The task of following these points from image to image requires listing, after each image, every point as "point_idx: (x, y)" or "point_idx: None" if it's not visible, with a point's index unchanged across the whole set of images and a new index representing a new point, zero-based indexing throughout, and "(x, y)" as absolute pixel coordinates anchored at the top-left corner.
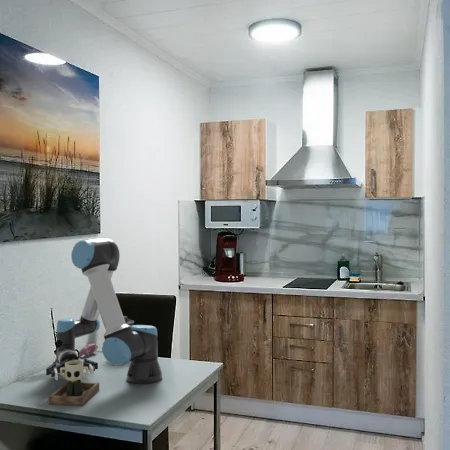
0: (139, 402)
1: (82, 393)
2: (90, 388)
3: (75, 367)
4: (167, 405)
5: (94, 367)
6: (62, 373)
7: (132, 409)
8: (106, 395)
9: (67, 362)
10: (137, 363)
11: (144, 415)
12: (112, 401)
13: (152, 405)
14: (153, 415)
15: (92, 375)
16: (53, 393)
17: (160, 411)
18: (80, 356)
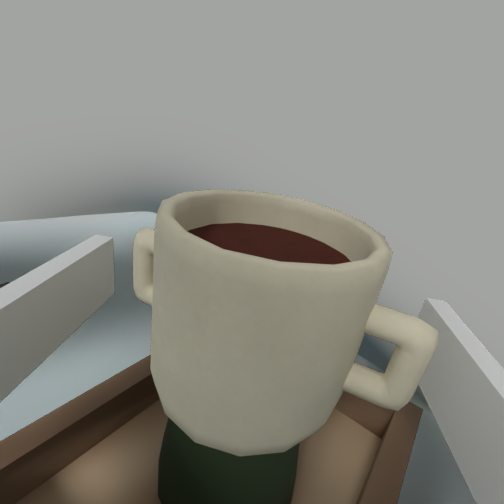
0: (43, 261)
1: (155, 479)
2: (123, 386)
3: (273, 214)
4: (19, 223)
5: (3, 285)
6: (384, 375)
7: (113, 247)
8: (46, 378)
9: (360, 264)
10: None
11: (123, 224)
12: (102, 307)
13: (45, 237)
14: (107, 217)
15: (108, 291)
16: (403, 449)
17: (74, 218)
18: None
